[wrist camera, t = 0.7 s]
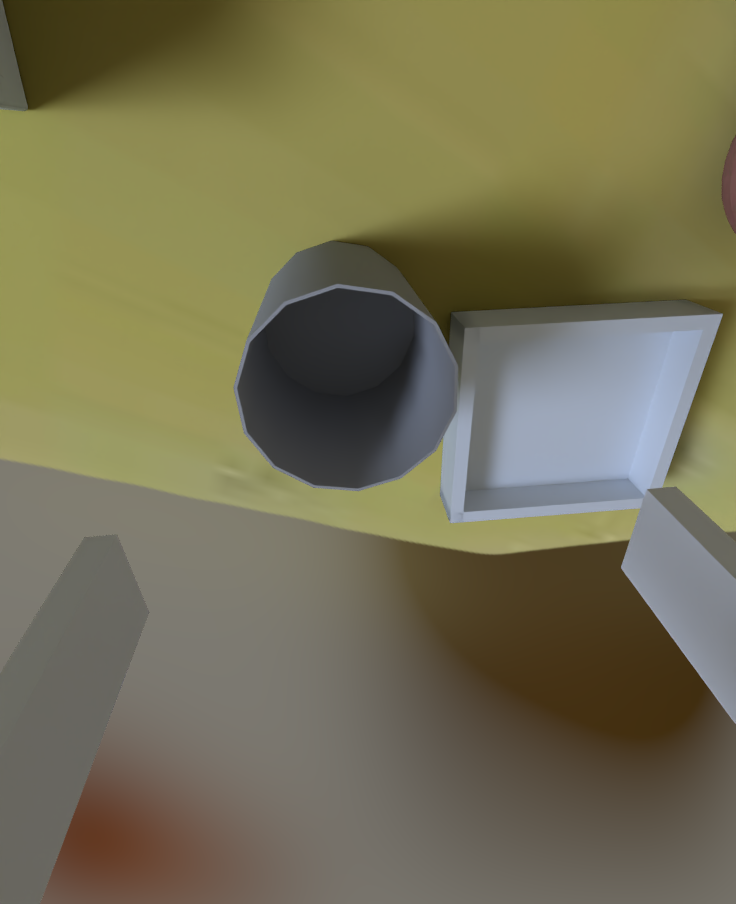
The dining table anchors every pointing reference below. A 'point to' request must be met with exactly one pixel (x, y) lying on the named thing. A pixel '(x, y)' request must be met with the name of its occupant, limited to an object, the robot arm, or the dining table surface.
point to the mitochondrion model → (730, 185)
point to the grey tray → (569, 405)
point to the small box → (9, 70)
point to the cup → (345, 371)
